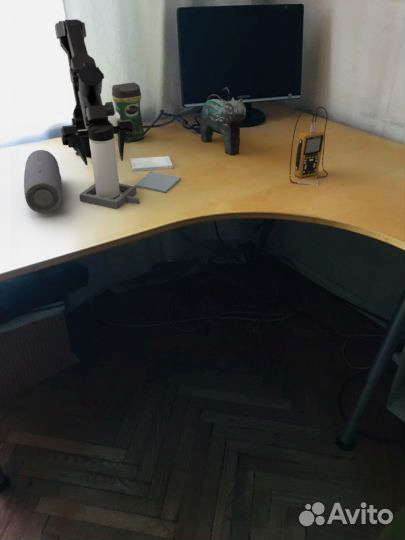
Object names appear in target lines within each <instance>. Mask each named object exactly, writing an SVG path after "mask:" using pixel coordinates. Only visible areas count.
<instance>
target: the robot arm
mask: <svg viewBox="0 0 405 540" xmlns="http://www.w3.org/2000/svg"><path fill="white" fill-rule="evenodd" d="M54 30H55V36H56V39H57V40H59V46H60V47H61V49H62V50H63V52H64V53H65V54H66V56H67V60H68V66H69V76H70V82H71V84H72V89H73V95H74V100H75V106H74V109H73V112H72V118H71V124H70V125H62V126H61V127H60V137H61V143H62V145H63V146H68V147H67V148H72V149H73V150H74V151H75V155H76V156H79V157H80V158H81V160H82V162H83V163H84V165H85V166H88V163H89V162H88V158H92V157H91V149H90V140H89V132H88V127H89V125H91V124H93V123H95V122H101V121H103V120H107V121H109V117H113V116H115V115H116V110H115V105H114V103H113V102H114V101H107V102H105V103H104V104H103V99H102V95H101V94H102V91H103V80H104V79H105V74H104V73H103V71H102V70H101V69H100V68H99V66H97V64H96V60H95V58H93V57H92V56H91V55H89V53H88V50H87V45H86V42H85V39H86V37H87V30H86V24H85V22H83V21H82V20H79V19H64V20H59V21H58V22H57V23H55V25H54ZM134 129H135V128H134V123H133V122H132V121H131V120H120V121H118V122H117V126H116V125H115V126H114V125H113V131H114V133H113V134H114V135H116V134H117V136H118V139H117V145H118V147H117V148H118V153H119V159H120V161H124V150H125V143H127V142H126V141H128V140H129V138H132V137H133V133H134ZM87 157H88V158H87Z"/></svg>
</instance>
